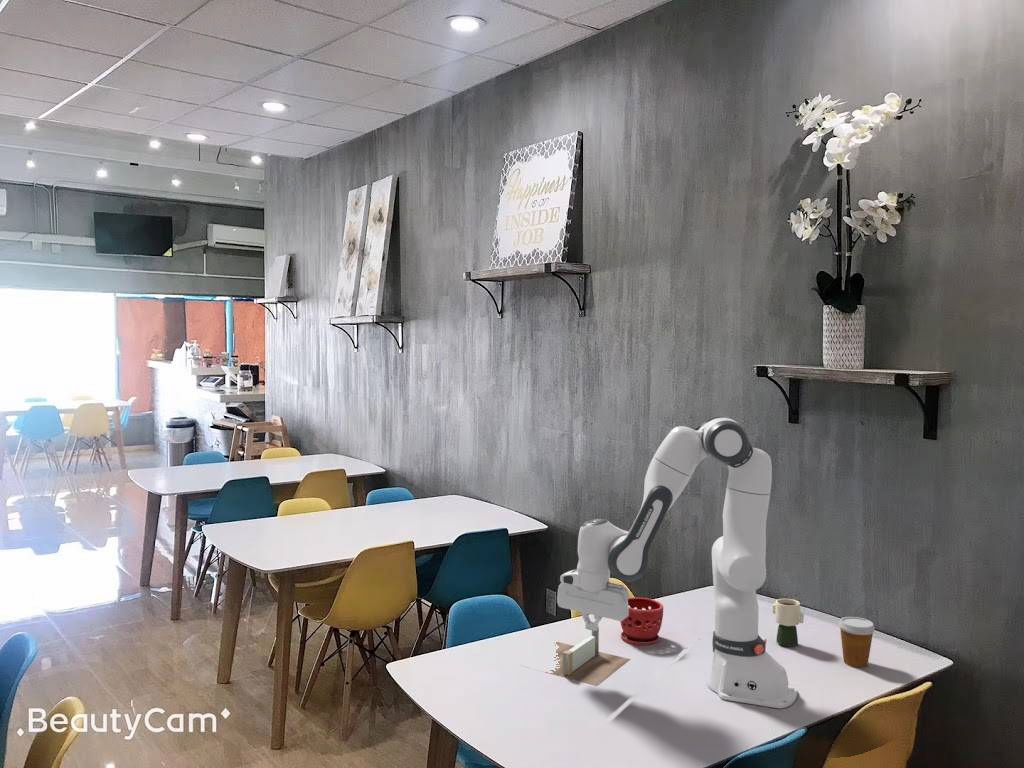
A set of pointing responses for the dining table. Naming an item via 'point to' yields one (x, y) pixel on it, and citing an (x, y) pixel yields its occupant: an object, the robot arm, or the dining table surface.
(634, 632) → the plant pot
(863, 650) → the disposable coffee cup
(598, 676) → the gate base board
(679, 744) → the dining table surface
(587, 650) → the gate
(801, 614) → the character mug
